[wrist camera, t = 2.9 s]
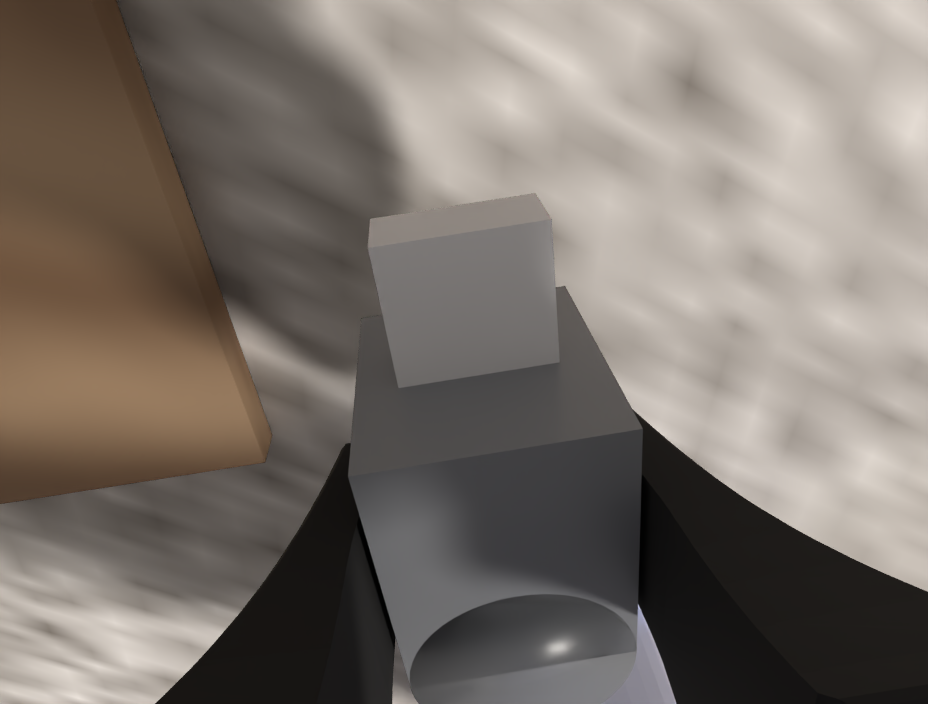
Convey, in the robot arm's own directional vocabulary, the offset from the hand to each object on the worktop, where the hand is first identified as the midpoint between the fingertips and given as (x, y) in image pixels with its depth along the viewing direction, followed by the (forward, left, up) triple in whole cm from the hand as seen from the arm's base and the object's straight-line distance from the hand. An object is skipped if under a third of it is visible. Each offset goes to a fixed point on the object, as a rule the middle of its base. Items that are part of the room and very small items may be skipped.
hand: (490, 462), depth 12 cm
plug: (0, 0, -2) cm, 2 cm away
